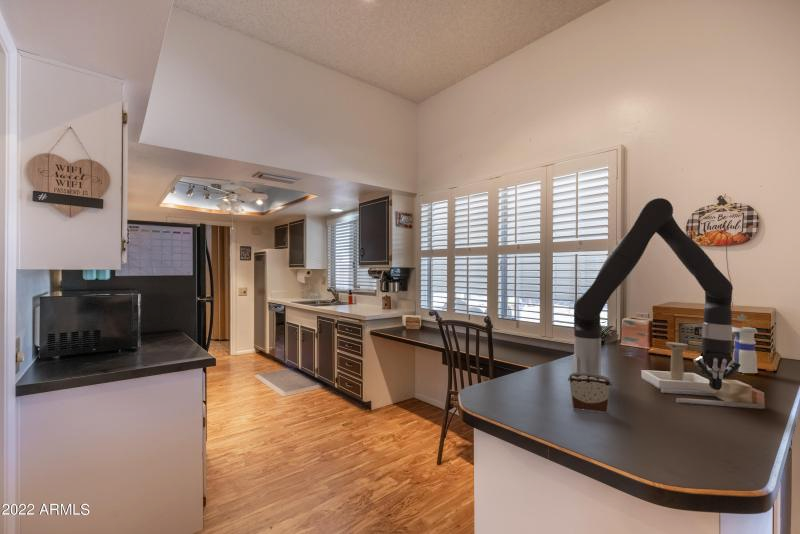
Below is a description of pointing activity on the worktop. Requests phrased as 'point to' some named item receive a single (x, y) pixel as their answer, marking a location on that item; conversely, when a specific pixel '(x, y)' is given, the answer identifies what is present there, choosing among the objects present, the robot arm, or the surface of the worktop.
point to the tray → (688, 383)
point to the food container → (590, 391)
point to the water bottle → (745, 348)
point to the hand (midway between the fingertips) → (715, 389)
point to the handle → (676, 360)
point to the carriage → (735, 391)
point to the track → (756, 401)
